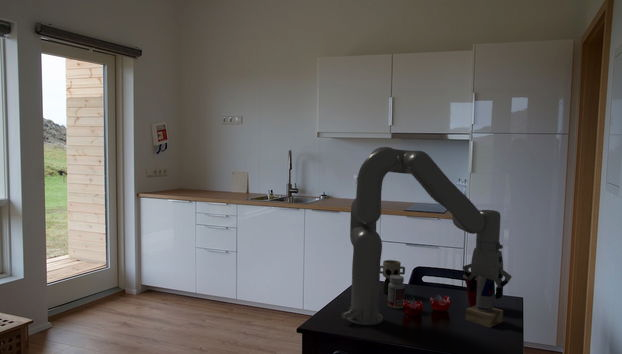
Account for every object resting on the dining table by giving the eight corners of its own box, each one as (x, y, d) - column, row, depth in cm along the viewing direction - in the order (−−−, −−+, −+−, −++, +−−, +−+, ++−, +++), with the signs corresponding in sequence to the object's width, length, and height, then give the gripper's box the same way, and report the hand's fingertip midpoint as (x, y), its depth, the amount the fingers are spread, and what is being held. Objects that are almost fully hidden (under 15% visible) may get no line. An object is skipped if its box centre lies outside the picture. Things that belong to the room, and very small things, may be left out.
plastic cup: (471, 300, 190) (472, 270, 189) (496, 307, 181) (498, 276, 181) (456, 305, 182) (457, 274, 182) (482, 312, 174) (483, 280, 174)
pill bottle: (405, 305, 181) (406, 275, 180) (402, 310, 175) (403, 279, 175) (389, 302, 183) (390, 273, 183) (385, 307, 178) (386, 277, 177)
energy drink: (493, 312, 162) (495, 278, 162) (477, 311, 163) (478, 277, 163) (490, 307, 168) (492, 274, 167) (474, 306, 169) (476, 273, 168)
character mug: (378, 295, 193) (379, 263, 192) (376, 289, 200) (377, 259, 199) (405, 296, 192) (406, 264, 192) (403, 291, 199) (404, 260, 199)
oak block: (489, 327, 159) (490, 315, 159) (465, 320, 166) (465, 308, 166) (502, 321, 165) (503, 310, 165) (478, 314, 172) (479, 303, 172)
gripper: (517, 248, 160) (514, 298, 161) (470, 240, 173) (468, 287, 174) (506, 251, 155) (504, 303, 156) (459, 243, 168) (457, 290, 169)
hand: (485, 294), depth 165 cm, fingers open, 9 cm apart
